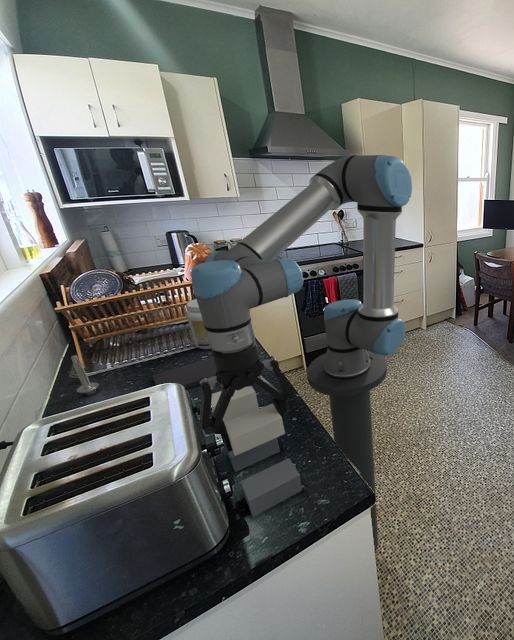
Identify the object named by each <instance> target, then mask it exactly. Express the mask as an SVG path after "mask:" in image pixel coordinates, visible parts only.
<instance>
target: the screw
mask: <svg viewBox="0 0 514 640" xmlns="http://www.w3.org/2000/svg"><path fill="white" fill-rule="evenodd" d="M70 359H71V361H72V363H73V364H72V367H73V368H74V369H75V373H76V375H77V377H78V379H79V382H80V384H81V385H80V386H79V387H78V388H77V389H76V393H78V394H83V396H86V397H89V396H92V395H95V394H96V393H97V389H98V388H99V387H100V384H99V383H98V382H91V381H90V379H89V376H88V375H87V371H86V369H85V368H84V365H83V363H82V362H81V361H80V358H79V356H78V355H72V356H71V357H70Z"/></svg>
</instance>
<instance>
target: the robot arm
mask: <svg viewBox="0 0 514 640" xmlns="http://www.w3.org/2000/svg"><path fill="white" fill-rule="evenodd" d="M412 193H413V182H412V176H411V173H410V170H409V168H408V167H407V165H406V163H405V162H404V161H403V160H402V159H401V158H400V157H397V156H394V155H386V154H365V155H364V154H360V155H358V154H350V155H346V156H342V157H340V158H338V159H336V160H334V161H332V162H331V163H329V164H327V165H326V166H325V167H323V168H321V170H319V171H317V172H316V173H315V174H314V175H313V176H311V177H310V179H309V181H308V185H307V186H306V187H305V188H304V189H303V190H301V191H300V192H299V193H297V194H296V195H295V196H294V197H293V198H292V199H290V200H289V201H288V202H287V203H286V204H284V205H283V206H282V207H280V208H279V209H278V210H277V211H275V212H274V213H273V214H271V215H270V216H269V217H268V218H267V219H266V220H264V221H263V222H262V223H260V224H258V226H256V227H255V228H254V229H253V230H252V231H250V233H248V234H247V235H245V237H243V238H242V239H241V240H240V241H238V242H236V244H235V245H233V246H232V247H230V248H229V249H227V250H224V249H223V250H216V251H214V252H211V253H210V254H209V255H208V256H207V257H206V259H205V260H204V262H201V263H199V264H196V265H195V266H194V267H193V268H192V269H191V270H190V271H191V272H190V277H191V284H192V287H193V288H192V289H193V295H194V297H195V299H197V303H198V306H199V309H200V312H201V315H202V319H203V322H204V326H205V331H206V334H207V338H208V341H209V345H210V348H211V349H210V350H211V356H212V358H213V359H214V363H215V366H216V374H215V376H213V377H210V378H207V379H206V378H205V377H202V378H200V379H199V383H200V384H199V386H200V387H201V396H200V397H201V398H200V407H199V409H200V411H199V419H198V420H199V425H200V428H201V429H202V430H208V429H209V428H212V429H213V432H214V434H221V436H222V439H223V441H224V445H226V446H225V448H226V447H227V449H226V451H227V450H228V452H230V451H233V450H232V447H231V443H230V440H229V437H228V433H227V429H226V426H225V424H224V421H223V417H224V415H225V412H226V410H227V407H228V405H229V402H230V400H231V397H233V395H234V393H235V390H237V391H238V390H241V389H243V388H244V387H249V386H252V387H253V386H254V385H255V384H256V385H257V386H258V387H260V388H262V389H263V390H264V391H266V392H267V393H268V394H270V395H271V396H272V397H274V398H273V399H272V400H273V405H274V407H275V408H276V410H277V411H278V413H279V414H280V416H281V417H282V421H283V426H284V429H285V428H287V426H286V422H285V417H284V414H285V413H287V412H288V406H287V402H288V400H287V398H289V397H292V396H293V395H294V391H293V390H292V388H291V387H290V384H289V383H288V381H287V380H286V378H285V377H284V375H283V374H282V371H281V370H280V363H279V361H278V359H276V357H275V356H274V355H271V356H269V357H268V358H267V359H264V360H261V358H260V353H259V349H258V344H257V341H256V336H255V331H254V327H253V324H252V323H253V322H252V317H251V311H250V310H251V309H254V308H258V307H259V306H263V305H266V304H268V303H272V302H275V301H278V300H281V299H283V298H288V297H289V296H291V295H293V294H296V293H298V292H300V291H301V289H302V288H303V285H304V277H303V271H302V269H301V267H300V266H299V264H298V263H297V262H296V261H295V260H294V259H291V258H289V257H284V258H278V257H279V256H281V254H283V253H284V251H286V250H287V249H288V248H289V247H290V246H291V245H292V244H294V243H295V242H296V241H297V240H298V239H300V237H301V236H303V235H304V234H305V233H306V232H307V231H308V230H309V229H311V227H313V226H314V225H315V224H316V223H317V222H318V221H319V220H320V219H321V218H323V217H324V216H325V215H326V214H327V213H328V212H329V211H336V210H338V209H339V208H340V207H341V206H342V205H345V204H348V203H356V208H357V209H356V210H357V212H358V213H359V214H360V215H361V216H362V219H363V221H362V223H363V227H362V228H363V229H362V230H363V231H362V232H363V235H362V236H363V237H362V239H363V243H362V245H363V257H362V258H363V259H362V260H363V261H362V262H363V263H362V264H363V268H362V269H363V303H362V301H360V300H359V299H353V298H351V299H350V298H349V299H341V300H336V301H333V302H331V303H329V304H327V305H326V306H325V307H324V309H323V316H324V317H323V323H324V328H325V329H324V330H325V338H326V345H327V349H326V352H325V353H326V357H325V361H324V371H325V373H326V374H327V375H328V376H330V377H332V378H335V379H352V378H356V377H359V376H361V375H363V374H365V373H366V372H367V371H368V370H369V369H370V366H371V364H370V359H373V358H372V357H370V356H369V355H368V353H367V351H370V352H373V353H374V354H379V355H381V356H383V357H389V356H391V355H392V356H393V354H395V353H396V352H397V351H398V350H399V348H400V347H401V345H402V344H403V342H404V340H405V336H406V333H407V325H406V323H405V321H404V320H403V319H401V318H399V308H398V307H397V306H396V305H395V303H394V300H395V299H394V294H395V267H396V266H395V265H396V264H395V263H396V262H395V261H396V260H395V259H396V232H397V231H396V227H397V219H398V218H399V216H401V215H402V213H403V207H404V206H406V205H407V204H408V203H409V201H410V198H411V197H412ZM366 350H367V351H366ZM264 368H267V370H269V371H272V374H273V375H274V377H275V378H276V379H277V382H278V383H279V385H280V386H281V388H282V389H283V390H279V389H278V388H277V387H275V386H274V385H273V384H271V383H270V382H269V381H268V380H267V379H265V378H264V377H263V376H262V375H261V374H262V372H263V370H264ZM217 383H219V384H220V383H221V384H222V385H223V387H222V390H221V391H222V392H221V394H220V397H219V400H218V402H217V405H216V407H215V410H214V412H213V413H212V414H211V412H212V410H211V400H212V394H213V393H212V391H213V390H214V389H215V387H216V384H217ZM216 439H217V440H218V441H220V440H219V438H218V437H216Z"/></svg>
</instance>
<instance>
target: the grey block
mask: <svg viewBox="0 0 514 640" xmlns="http://www.w3.org/2000/svg"><path fill="white" fill-rule="evenodd" d="M224 445H225V444H224ZM225 449H226V453H227V456H228V459H229V462H230V464H231V466H232V469H233V471H234V473H237V472H239V471H242V470H244V469H245V468H248V467H250V466H252V465H254V464H257V463H259V462H261V461H262V460H265V459H267V458H270V457H271V456H274V455H276V454H278V453H280V452H281V450H280V446H279V440H278V437H277V438H274V439H272V440H270V441H268V442H265V443H263V444H261V445H259V446H257V447H254V448H252V449H250V450H248V451H245V452H243V453H241V454H239V455H236V456H235V455H234V453H233V451H230V452H228V450H227V447H226V445H225Z"/></svg>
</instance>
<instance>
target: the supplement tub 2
mask: <svg viewBox="0 0 514 640" xmlns="http://www.w3.org/2000/svg"><path fill="white" fill-rule="evenodd" d="M186 310H187V311H186V315H185V316H186V320H187V322H188V323H187V324H188V325H189V329H190V332H191V336H192V340H193V343H194V346H195V347H197V348H198V349H201V350H212V349H211V348H210V345H209V341H208V338H207V334H206V331H205V326H204V322H203V319H202V315H201V312H200V309H199V306H198V303H197V299H196V298H195V299H192V300H190V301H188V302H187V303H186Z"/></svg>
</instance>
